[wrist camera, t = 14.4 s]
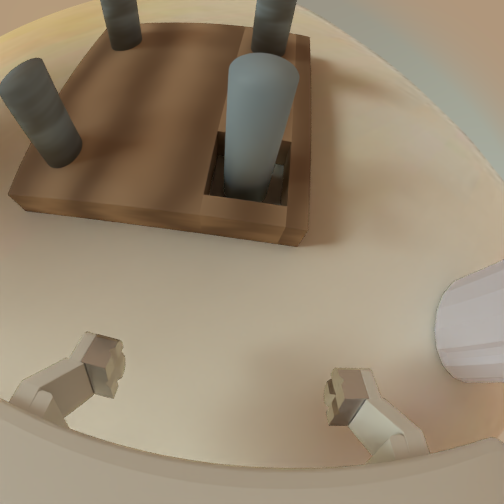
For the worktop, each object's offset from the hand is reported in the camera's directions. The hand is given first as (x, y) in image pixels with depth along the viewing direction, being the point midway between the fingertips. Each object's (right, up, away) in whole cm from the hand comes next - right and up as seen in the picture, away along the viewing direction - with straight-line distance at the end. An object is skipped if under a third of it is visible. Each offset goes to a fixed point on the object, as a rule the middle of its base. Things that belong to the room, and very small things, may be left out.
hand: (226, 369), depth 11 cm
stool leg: (0, +9, +12) cm, 15 cm away
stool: (-6, +17, +13) cm, 22 cm away
